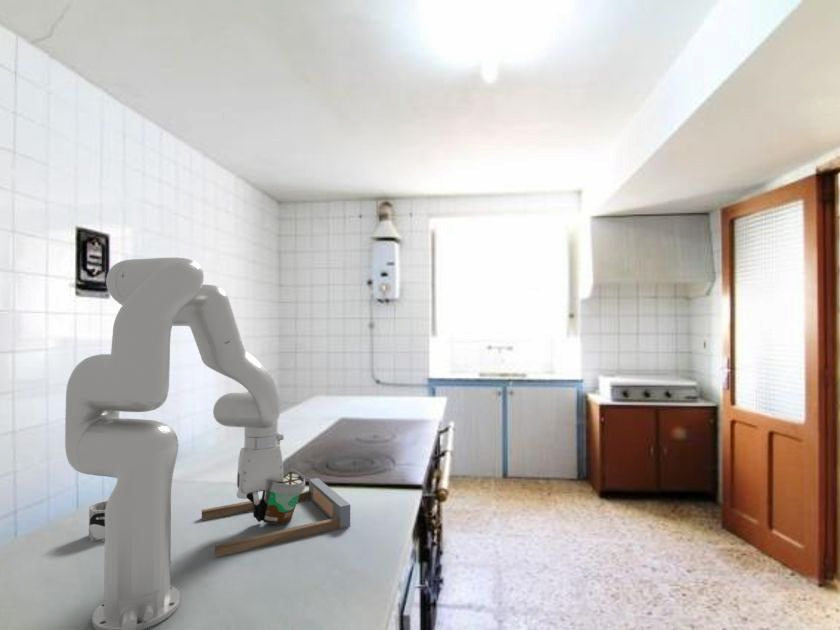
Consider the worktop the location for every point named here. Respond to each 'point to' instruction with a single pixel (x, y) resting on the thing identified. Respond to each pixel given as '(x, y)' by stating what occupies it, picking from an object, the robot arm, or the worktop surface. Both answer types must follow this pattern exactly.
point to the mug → (97, 521)
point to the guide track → (266, 537)
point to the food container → (284, 498)
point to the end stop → (329, 502)
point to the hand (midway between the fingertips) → (260, 519)
